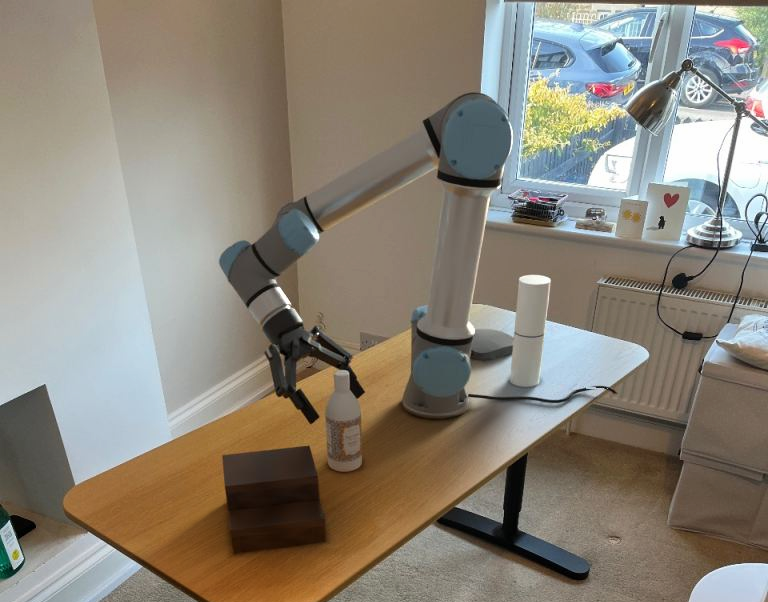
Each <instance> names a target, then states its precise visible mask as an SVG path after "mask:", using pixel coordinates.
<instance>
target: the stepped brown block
mask: <svg viewBox="0 0 768 602" xmlns="http://www.w3.org/2000/svg"><path fill="white" fill-rule="evenodd" d="M221 458H222V460H221V461H222V469H223V470H222V471H223V482H224V490H225V497H226V504H227V511H228V522H229V533H230V539H231V547H232V553H233V555H235V554H242V553H243V554H244V553H251V552H252V553H253V552H258V551H259V552H260V551H266V550H273V549H281V548H287V547H295V546H304V545H311V544H319V543H326V542H327V534H326V519H325V515H324V511H323V507H322V503H321V500H320V499H321V498H320V485H319V474H318V471H317V467H316V464H315V460H314V457H313V453H312V449H311V446H310V445H301V446H292V447H283V448H275V449H273V448H272V449H264V450H257V451H247V452H239V453H238V452H237V453H230V454H228V453H227V454H222V455H221Z"/></svg>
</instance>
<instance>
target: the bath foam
mask: <svg viewBox="0 0 768 602" xmlns="http://www.w3.org/2000/svg"><path fill="white" fill-rule="evenodd" d="M333 386H334V387H333V388H334V390H333V392H332V393H331V394H330V396H329V398H328V400H327V402H326V405H325V411H324V418H325V435H326V454H327V464H328V466H329V467H330V469H332V470H334V471H336V472H339V473H340V472H341V473H346V472H352V471H356V470H357V469H359V468H360V467H361V465H362V464H363V445H362V443H363V442H362V411H361V405H360V403H359V401H358V399H356V397H355V396H354V395H353V393H352V392H351V391H350V382H349V372H348V371H346V370H339V369H337V370H336V371H334V372H333Z"/></svg>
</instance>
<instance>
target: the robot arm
mask: <svg viewBox="0 0 768 602" xmlns="http://www.w3.org/2000/svg"><path fill="white" fill-rule="evenodd" d="M513 137H514V133H513V128H512V123H511V120H510V117H509V116H508V114H507V112H506V111H505V109H504V108H503V107H502V106H500V104H499V103H498V102H497V101H495V100H494V99H493V98H492V97H491V96H489V95H488V94H485V93H482V92H478V91H471V92H465V93H462V94H461V95H458V96H457V97H455V98H454V99H453V100H451V101H450V102H448V103H447V104H446V105H444V106H443V107H441V108H440V109H439V110H438V111H436V112H434V113H433V114H431V115H429V116H428V117H426V118H425V119H422V120H421V121H420V124H419V128H418V129H417V130H416V131H414V132H413V133H411V134H409V135H407V136H406V137H404V138H402V139H401V140H399V141H397V142H396V143H394V144H392V145H390V146H388V147H386V148H385V149H384V150H382V151H380V152H378V153H376V154H375V155H373V156H372V157H370V158H368V159H367V160H364V161H363V162H361V163H359V164H358V165H356V166H354V167H353V168H351V169H349V170H347V171H346V172H343V173H342V174H340V175H339V176H337V177H335V178H334V179H332V180H330V181H329V182H327V183H325V184H323V185H322V186H320V187H319V188H317V189H315V190H312V191H311V192H310V193H308V194H306V195H305V196H303V197H302V198H300V199H298V200H296V201H291V202H288V203H286V204H285V205H284V206H282V207H281V208H280V209H279V211H278V212H277V215H276V218H275V220H273V223H272V225H271V227H270V228H269V229H268V230H267V231H266V232H264V234H263V235H262V236H261V237H259V239H257V241H255V242H253V243H250V241H247V240H239V241H236V242H234V243H233V244H232V245H230V246H228V247H227V248H225V250H223V251H222V253H221V254H220V256H219V260H218V264H219V268H220V269H221V271H222V272H223V274H224V276H225V277H226V280H227V282H228V283H229V285H231V287H232V288H233V290H235V292H236V294H237V295H238V296H239V298H240V300H241V301H242V302H243V303H244V305H245V306H246V308H247V310H248V311H249V313H250V314H251V316H252V317H253V319H254V320H255V322H256V323H257V324H258V326H260V327H262V332H263V333H264V335H265V336H266V338H267V339H268V341H269V342H270V345H269V346H268V347H267V348H266V349H265V350H264V352H263V353H264V356H265V357H266V359H267V361H268V363H269V368H270V373H271V377H272V382H273V387H274V391H275V395H276V396H277V397H278V398H281V397H283V398H284V399H289V400H290V402H292V404H293V406H294V407H295V409H296V410H297V411H300V412H301V413H302V415H303V416H304V418H305V419H306V421H307V422H308V424H309V425H313V424H314V423H315V422H316V421H318V419H320V414H318V411H316V409H315V408H314V406H313V405H312V403H311V401H310V400H309V399H308V397H307V396H306V394H305V393H304V391H303V390H302V388H298V389H297V364H298V363H297V362H299V361H301V360H302V359H306V358H308V357H309V358H315V359H317V360H319V361H320V362H323V363H325V364H327V365H329V366H330V367H333V368H335V369H337V370H346V371H348V372H349V382H350V391H351V392H352V393H353V395H354V396H355V397H356V399H357V400H359V398H361V397H362V396H363V395H364V394H365V393H366V391H365V389H364V388H363V387H362V385H361V383H360V382H359V381H358V377H357V374H356V373H355V371H354V370H353V369H352V367H351V366H350V364H351V362H352V360H353V359H354V357H353V354H351V353H350V352H349V351H348V350H346V349H345V348H344V347H342V346H341V345H340V344H339V343H337V342H335V341H334V340H333V339H332V338H331V337H329V335H327V334H325V332H324V331H323V330H322V329H321V328H320V326H319V325H314V326H313V327H312V328H311V330H309V331H308V330H307V329H306V328H305V327H304V321H303V319H302V318H301V316H300V315H299V313H298V312H297V310H296V309H295V308H294V307H292V303H291V301H290V300H289V298H288V297H287V296H286V294H285V293H284V291H283V290H282V288H281V286H280V285H279V283H278V282H277V280H276V279H277V278H278V277H280V276H281V275H282V274H283V273H284V272H285V271H287V270H288V269H289V268H290V267H292V266H293V265H294V264H295V263H296V262H297V261H299V260H300V259H301V258H303V256H305V255H306V254H308V253H309V252H310V250H311V249H313V247H315V245H317V244H318V242H319V240H320V234H323V232H325V231H326V230H328V229H331V228H332V227H334V226H335V225H338V224H340V223H341V222H343V221H345V220H347V219H348V218H350V217H352V216H354V215H356V214H357V213H359V212H361V211H362V210H364V209H366V208H368V207H370V206H372V205H373V204H375V203H377V202H379V201H381V200H382V199H384V198H386V197H388V196H389V195H392V194H393V193H394V192H396V191H398V190H400V189H402V188H403V187H405V186H407V185H409V184H411V183H413V182H414V181H417V180H418V179H420V178H421V177H423V176H425V175H427V174H429V173H430V172H432V171H435V170H437V172H436V173H437V174H436V180H437V182H438V183H439V184H440V186H441V187H442V189H443V191H442V198H441V205H440V206H441V207H440V213H439V218H438V219H439V220H438V228H437V235H436V241H435V247H434V256H433V263H432V270H431V276H430V284H429V293H428V299H427V305H422V306H418V307H415V309H413V310H412V313H411V320H410V324H411V333H410V334H411V335H410V336H411V337H410V339H411V340H410V343H411V344H410V347H411V348H410V375H409V377H408V380H407V383H406V386H405V389H404V392H403V394H402V408H403V409H404V410H405V411H406V412H407V413H408V414H410V415H413V416H415V417H418V418H422V419H429V420H446V419H451V418H456V417H458V416H461V415H463V414H464V413H466V411H467V410H468V409H469V401H470V398H474V399H475V398H476V399H484V400H493V401H520V400H525V401H536V402H541V403H547V404H559V403H560V404H561V403H565V402H567V401H568V400H570V399H571V398H572V397H573V396H574V395H576V394H578V393H581V392H582V393H583V392H586V391H593V390H594V389H586V387H582V388H577V389H574V390H572V391H570V393H569V394H568V395H567V396H565V397H564V398H559V399H549V398H548V399H547V398H542V397H537V396H527V395H526V396H491V395H485V394H475V393H468V391H467V387H466V386H467V384H468V383H469V380H470V378H471V374H472V364H471V363H472V362H471V357H470V355H471V349H472V344H473V338H474V332H475V330H474V329H475V327H474V326H473V325H472V324H471V322H470V315H471V310H472V304H473V299H474V294H475V287H476V283H477V282H476V281H477V276H478V269H479V263H480V259H481V252H482V247H483V241H484V236H485V235H484V234H485V229H486V223H487V217H488V211H489V205H490V199H491V196H492V195H493V194H494V193H495V192H496V191H498V190H499V189H500V188H501V186H502V180H503V175H504V171H505V170H504V169H505V164H506V163H507V161H508V159H509V157H510V154H511V151H512V148H513V140H514V138H513ZM281 355H282V356H283V362H282V357H281ZM283 366H284V367H283ZM591 387H596V388H604V389H603V390H606V391H609V392H611V393H612V394H614V395H618V392H617V391H616V390H615V389H614V388H612V387H610V386H606V385H593V386H591ZM607 388H608V389H607Z"/></svg>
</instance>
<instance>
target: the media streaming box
mask: <svg viewBox="0 0 768 602" xmlns="http://www.w3.org/2000/svg"><path fill="white" fill-rule="evenodd" d="M474 330H475V332H474V338H473V344H472V349H471V355H470V358H472V359H475V360H479V361H481V360H482V361H483V360H484V361H485V360H486V361H487V360H492V359H497V358H499V357H503V356H506V355H509V354H512V352H513V341H514V336H512V335H510V334H509V333H507V332H504V331H502V330H498V329H492V328H476V329H475V328H474Z"/></svg>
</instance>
